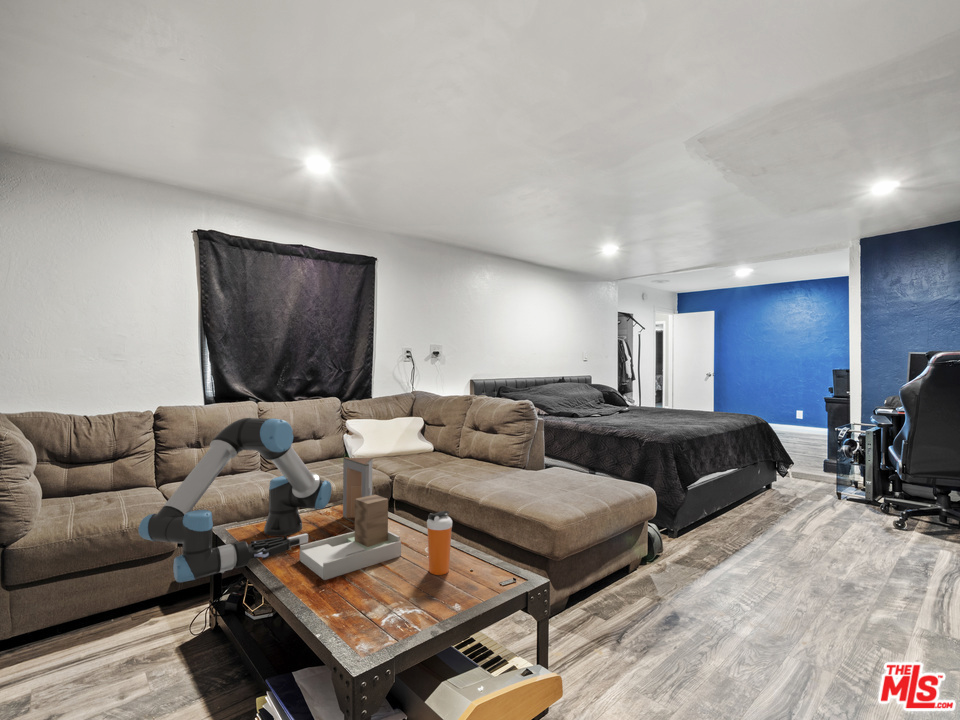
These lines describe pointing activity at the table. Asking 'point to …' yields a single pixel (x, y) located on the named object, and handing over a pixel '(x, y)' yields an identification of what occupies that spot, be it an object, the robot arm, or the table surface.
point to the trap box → (346, 554)
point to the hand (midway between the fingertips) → (307, 537)
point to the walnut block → (371, 520)
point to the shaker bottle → (439, 542)
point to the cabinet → (355, 483)
